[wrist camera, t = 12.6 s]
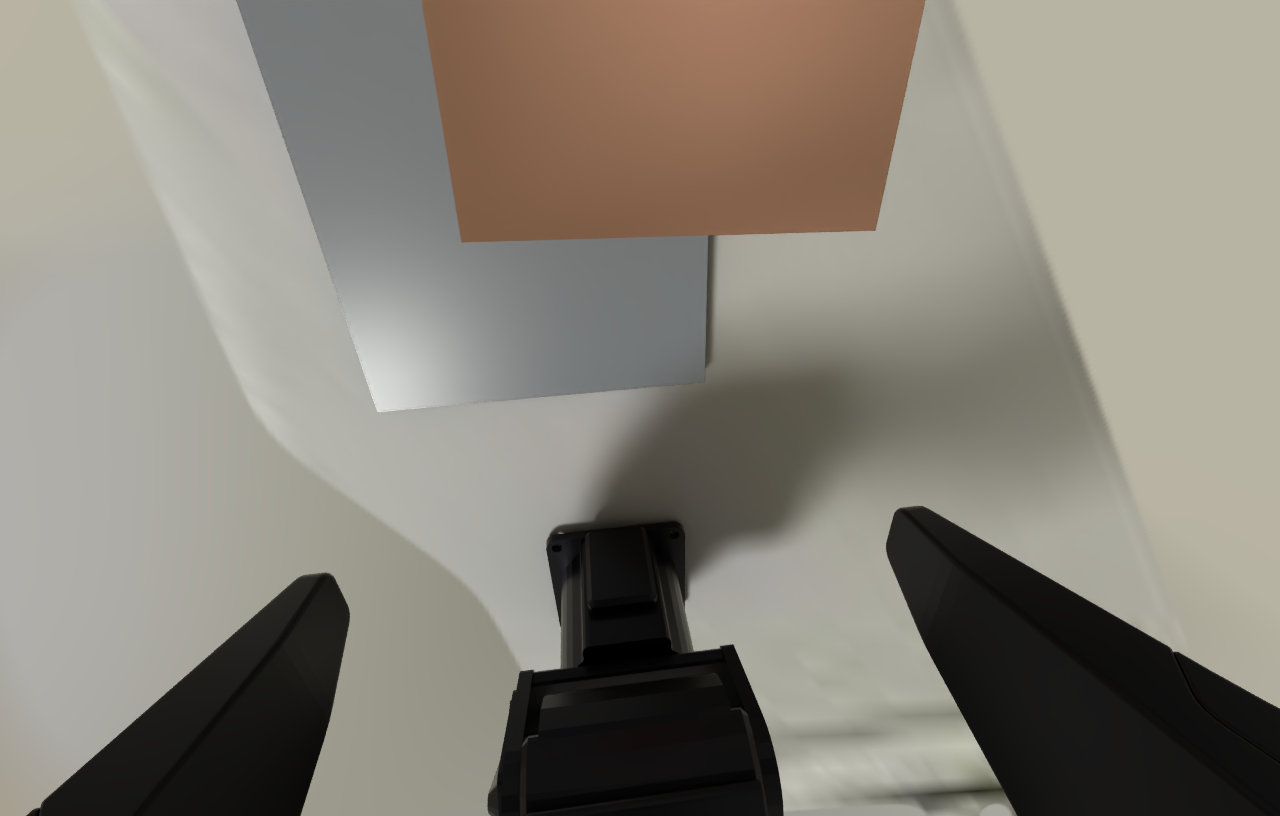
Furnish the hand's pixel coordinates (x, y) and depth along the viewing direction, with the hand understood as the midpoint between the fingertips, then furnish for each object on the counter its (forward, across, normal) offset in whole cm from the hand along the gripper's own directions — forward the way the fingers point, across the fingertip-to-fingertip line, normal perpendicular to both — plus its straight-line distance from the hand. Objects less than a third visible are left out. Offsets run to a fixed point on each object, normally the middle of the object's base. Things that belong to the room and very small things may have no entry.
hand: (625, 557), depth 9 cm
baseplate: (+13, +2, -3) cm, 14 cm away
